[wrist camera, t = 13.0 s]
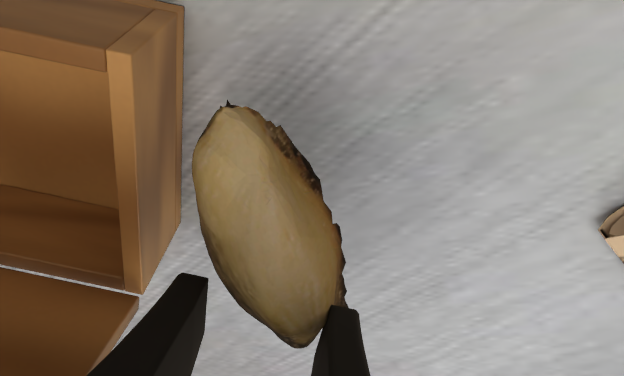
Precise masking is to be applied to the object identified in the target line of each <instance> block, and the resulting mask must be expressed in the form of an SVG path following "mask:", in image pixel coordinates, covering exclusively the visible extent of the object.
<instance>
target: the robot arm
mask: <svg viewBox="0 0 624 376" xmlns="http://www.w3.org/2000/svg"><path fill="white" fill-rule="evenodd" d="M207 290H208V278H206V277H201V276H196V275H192V274H187V273H181V274H179V275H178V276H177V277H176V278H175V280H174V281H173V282H172V284H171V285H170V286H169V288H168V289H167V290H166V291H165V293H164V294H163V295H162V296H161V298H160V299H159V300H158V301H157V302H156V304H155V305H154V306H153V307H152V308H151V309H150V311H149V312H148V313H147V314H146V315H145V316H144V317H143V319H142V320H141V321H140V322H139V323H138V324H137V325H136V326H135V327H134V328H133V329H132V330H131V331H130V332H129V334H128V335H127V336H126V337H125V338H124V339H123V340H122V341H121V342H120V343H119V344H118V345H117V346H116V347H115V348H114V349H113V350H112V351H111V352H110V353H109V354H108V355H107V356H106V357H105V358H104V359H103V360H102V361H101V362H100V363H99V364H98V365H97V366H96V367H95V368H94V369H93V370H92V371H91V372H89V373H88V374H87V375H86V376H191V374H192V370H193V367H194V364H195V361H196V358H197V355H198V351H199V348H200V345H201V342H202V338H203V335H204V330H205V317H206V303H207ZM311 376H370V372H369V368H368V364H367V359H366V355H365V350H364V345H363V340H362V334H361V327H360V319H359V313H358V312H357V311H356V310H354V309H350V308H345V307H340V306H336V305H331V306H330V309H329V313H328V318H327V321H326V324H325V326H324V327H323V329H322V333H321V336H320V339H319V343H318V346H317V349H316V353H315V356H314V362H313V368H312V374H311Z"/></svg>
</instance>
